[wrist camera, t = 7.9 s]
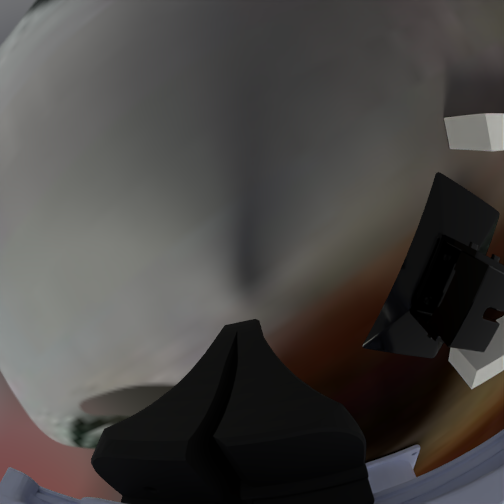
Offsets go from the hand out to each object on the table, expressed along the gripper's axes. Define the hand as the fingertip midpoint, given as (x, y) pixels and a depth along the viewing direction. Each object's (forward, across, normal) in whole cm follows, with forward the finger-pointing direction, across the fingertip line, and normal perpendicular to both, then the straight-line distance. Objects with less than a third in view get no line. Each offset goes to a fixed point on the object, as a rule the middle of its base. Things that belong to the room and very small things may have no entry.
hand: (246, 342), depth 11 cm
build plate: (+3, -10, +1) cm, 10 cm away
